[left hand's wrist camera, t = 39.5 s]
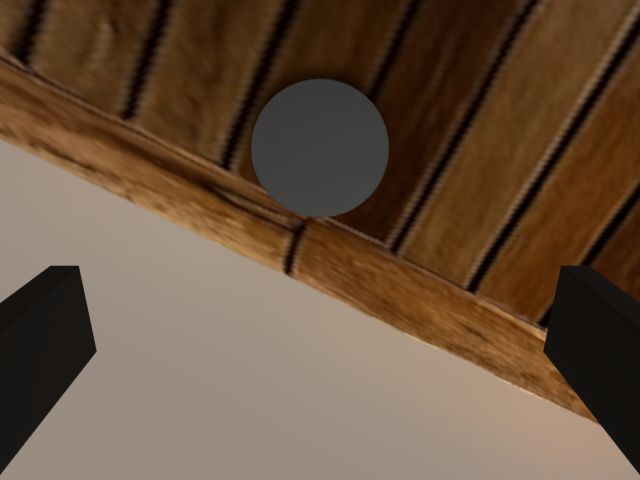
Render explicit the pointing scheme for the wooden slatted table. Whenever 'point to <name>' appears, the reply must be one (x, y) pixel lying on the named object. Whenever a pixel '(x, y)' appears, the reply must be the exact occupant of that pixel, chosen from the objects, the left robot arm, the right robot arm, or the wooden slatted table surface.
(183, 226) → the wooden slatted table surface
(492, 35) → the wooden slatted table surface
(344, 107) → the lid
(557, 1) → the wooden slatted table surface
